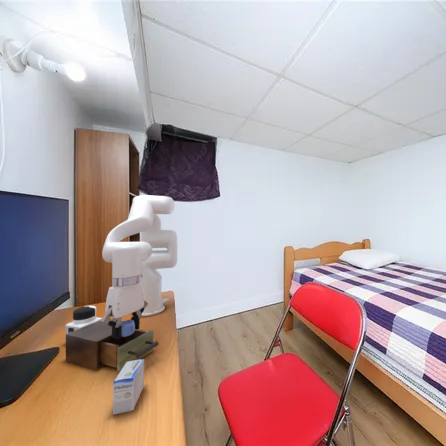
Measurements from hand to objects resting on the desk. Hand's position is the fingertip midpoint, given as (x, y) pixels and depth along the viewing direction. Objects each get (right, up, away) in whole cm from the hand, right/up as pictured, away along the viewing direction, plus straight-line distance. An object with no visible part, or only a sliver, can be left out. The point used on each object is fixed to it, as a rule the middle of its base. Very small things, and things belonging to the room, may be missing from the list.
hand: (126, 332), depth 73 cm
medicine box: (+14, -10, -16) cm, 24 cm away
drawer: (+1, -9, 0) cm, 9 cm away
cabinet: (-11, -9, +3) cm, 15 cm away
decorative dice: (0, -1, 0) cm, 1 cm away
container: (-25, -9, +11) cm, 29 cm away
